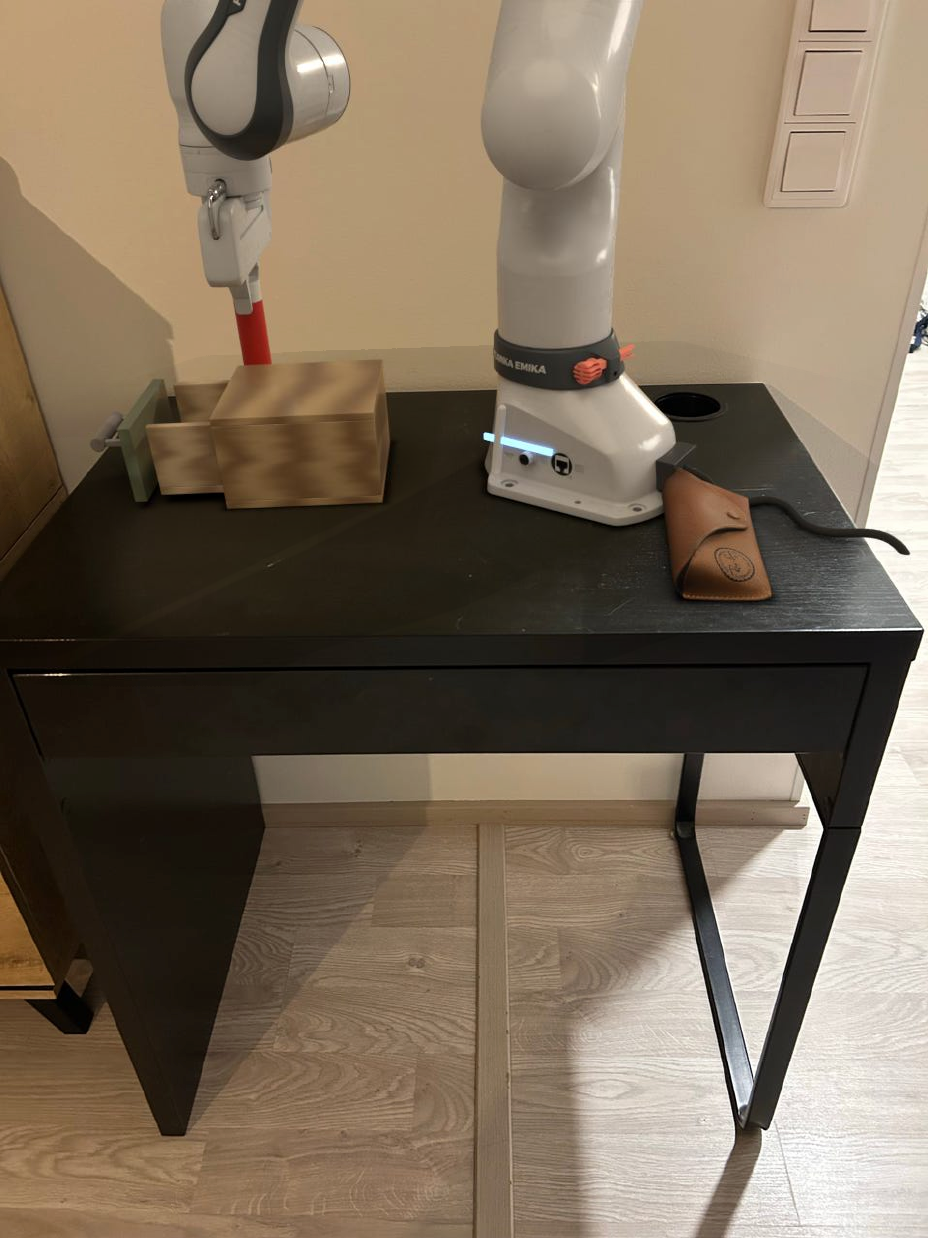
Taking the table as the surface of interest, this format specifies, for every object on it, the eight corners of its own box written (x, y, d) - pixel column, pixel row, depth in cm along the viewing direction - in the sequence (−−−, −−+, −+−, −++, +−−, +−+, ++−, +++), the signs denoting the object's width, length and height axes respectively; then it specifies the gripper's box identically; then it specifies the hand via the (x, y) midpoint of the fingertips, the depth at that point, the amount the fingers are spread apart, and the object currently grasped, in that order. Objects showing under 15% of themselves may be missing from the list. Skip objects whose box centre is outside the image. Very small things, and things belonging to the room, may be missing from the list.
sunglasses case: (780, 597, 78) (746, 535, 75) (699, 631, 80) (664, 572, 77) (747, 495, 92) (718, 439, 89) (680, 526, 95) (650, 473, 92)
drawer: (92, 503, 96) (71, 431, 91) (129, 447, 107) (112, 380, 102) (279, 496, 96) (267, 423, 91) (297, 440, 107) (287, 373, 102)
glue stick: (277, 367, 111) (264, 278, 105) (255, 374, 109) (240, 285, 103) (261, 361, 112) (248, 273, 107) (239, 368, 111) (223, 280, 105)
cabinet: (227, 509, 96) (208, 418, 90) (252, 447, 108) (237, 365, 102) (382, 502, 95) (373, 412, 90) (390, 442, 107) (382, 358, 102)
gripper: (239, 190, 90) (262, 335, 98) (273, 153, 107) (290, 280, 115) (173, 192, 90) (200, 337, 98) (217, 155, 107) (237, 282, 115)
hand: (249, 306), depth 107 cm, fingers closed on glue stick, 3 cm apart
